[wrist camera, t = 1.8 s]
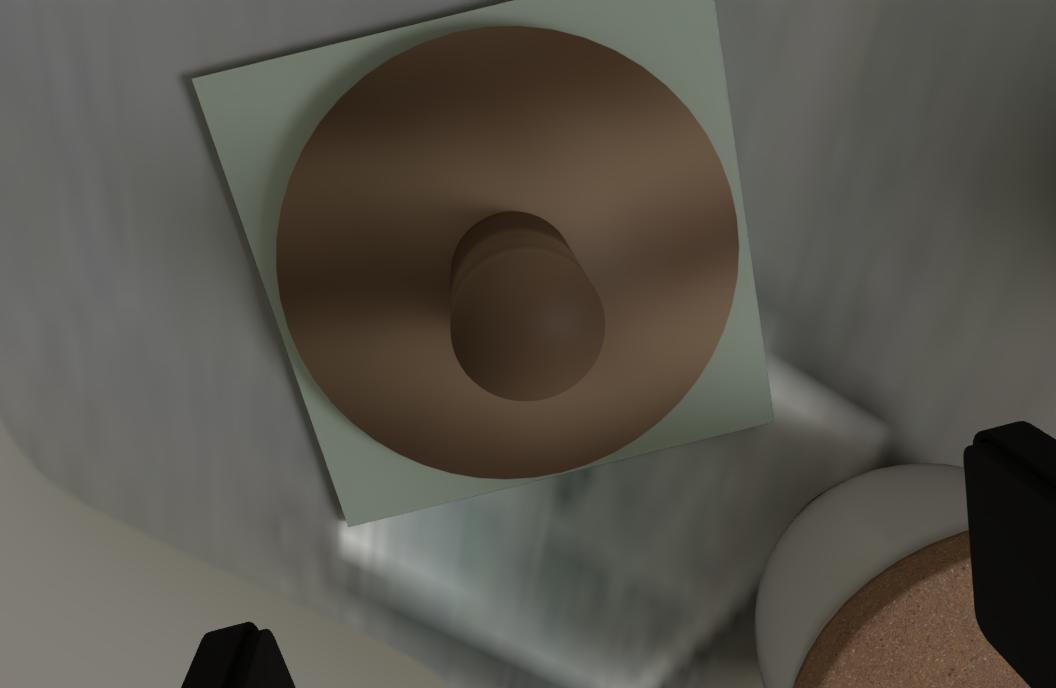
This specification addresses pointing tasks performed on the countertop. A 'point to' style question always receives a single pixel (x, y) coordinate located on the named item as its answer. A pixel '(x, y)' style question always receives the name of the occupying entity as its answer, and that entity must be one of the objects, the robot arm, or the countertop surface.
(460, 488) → the mat
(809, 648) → the lidded bowl
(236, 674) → the robot arm
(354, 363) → the lid
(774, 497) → the countertop surface
